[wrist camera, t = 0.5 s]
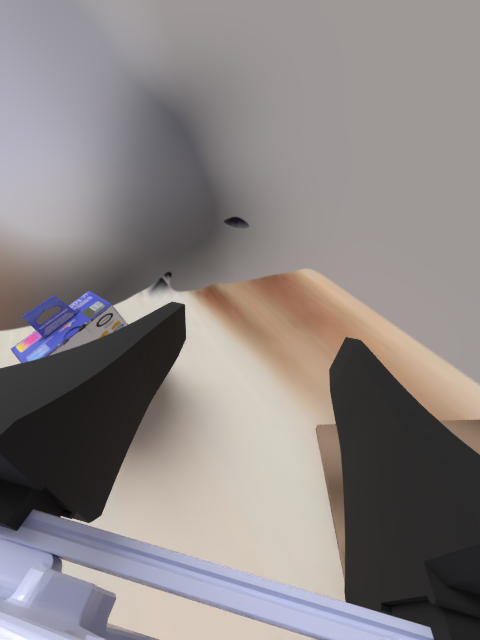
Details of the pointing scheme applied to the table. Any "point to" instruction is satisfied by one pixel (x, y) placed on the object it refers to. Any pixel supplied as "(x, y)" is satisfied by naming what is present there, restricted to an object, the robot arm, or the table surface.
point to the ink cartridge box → (67, 326)
